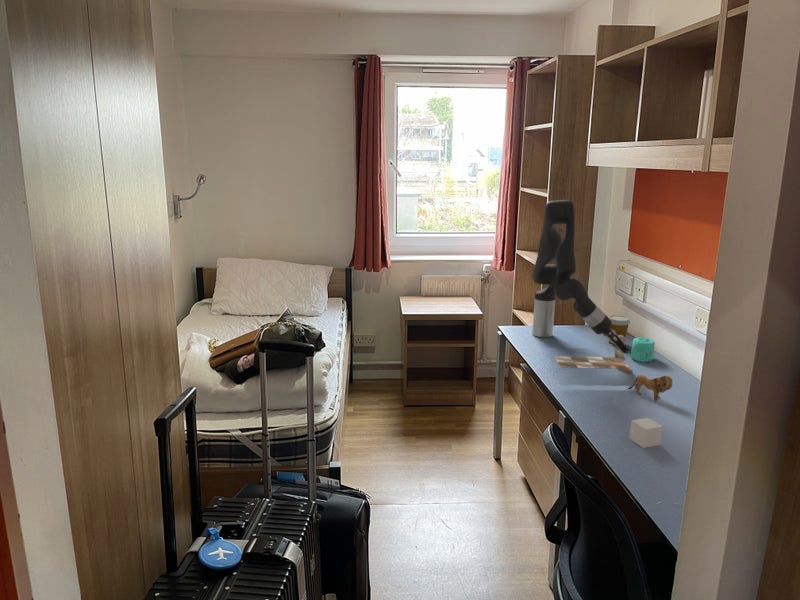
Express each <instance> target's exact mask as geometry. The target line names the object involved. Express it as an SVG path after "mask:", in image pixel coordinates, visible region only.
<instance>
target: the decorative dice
mask: <svg viewBox="0 0 800 600" xmlns="http://www.w3.org/2000/svg"><path fill="white" fill-rule="evenodd" d="M654 352H655V341H654V340H653V339H651V338H648V337H635V338H633V340H632V345H631V351H630V358H631V359H632V360H634V361H637V362H640V361H641V363H648V362H652V361H653V358H654Z"/></svg>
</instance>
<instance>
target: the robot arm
mask: <svg viewBox="0 0 800 600" xmlns="http://www.w3.org/2000/svg"><path fill="white" fill-rule="evenodd" d="M575 213H576V212H575V205H574V202H573V201H572V200H571V199H559V200H549V201H547V202H546V204H545V206H544V212H543V221H542V223H543V224H542V231H541V235H540V239H539V243H538V249H537V257H536V260H535V264H534V267H533V270H532V280H533V282H534V283H535V284H537V285H547V286H546V287H545V288H543V289H540V290H537V291H536V292H535V293H534V300H533V301H534V304H533V317H532V319H533V320H532V331H531V332H532V333H531V334H532V336H535V337H539V338H551V337H552V336H553V332H554V319H555V309H556V298H558V299H559V300H560V301H567V300H570V299H574V300H575V301H574V302H573V306H572V307H573V309H574V311H575V312H576V313H577V314H578V315H579V316H580V317H581V318H582V320H583V321H584V323H586V325H587V326H588V327H589V328H590V329H591V330H592V331H593V332H594V333H595V335H603V336H604V337H605V338H606V339H607V340H608V341H609V340H610V341H611V342H612V343H613V344H614V343H615V344H616V345H617V347H619V348H620V349H621V350H622V351H623V353H624V354H626V353H628V352H629V351H630V349H629V348H628V347H627V346H626V344H625V345H624V342H622V341H621V340H620V337H619V336H618V335H617V334H616V333H615V331H614V330H613V329H612V328H611V327H610V326H611V324H612V321H611V320H610V319H609V318H608V317H609V316H607V314H606V313H605V312H604V311H603V310H602V309H601V308H600V307H598V306H597V305H596V304H595V302H594V301H593V300H591V298H590V297H589V295H588V293H587V290H586V289H585V287H584V285H583V283H582V282H581V281H580V280H578V279H576V278H571V277H572V276H573V275H574V274H575V273H576V271H577V266H576V265H577V264H576V256H575V229H576V227H575V225H576V223H575V222H576V221H575V219H576V217H575V215H576V214H575ZM562 224H563V225H564V224H565V225H566V226H565V231H564V234H563V238H562V236H561V234H560V232H558V230H557V229H556V228H555V227H554V225H562ZM554 260H555V263H556V264H555V263H554V264H553V263H551V262H552V261H554ZM549 263H551V264H549Z"/></svg>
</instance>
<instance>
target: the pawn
mask: <svg viewBox="0 0 800 600" xmlns="http://www.w3.org/2000/svg"><path fill="white" fill-rule="evenodd" d="M618 336H619V337H620V340H621V341H622V342H624V345H625V346H626V337H624V336H623V335H618ZM611 357H612V360H614V361H617V362H625V361H626V356H625V353H623V351H622V350H621V349H620V348H619V347H617V345H616V344H615V346H614V354H613V355H612V356H611Z"/></svg>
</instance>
